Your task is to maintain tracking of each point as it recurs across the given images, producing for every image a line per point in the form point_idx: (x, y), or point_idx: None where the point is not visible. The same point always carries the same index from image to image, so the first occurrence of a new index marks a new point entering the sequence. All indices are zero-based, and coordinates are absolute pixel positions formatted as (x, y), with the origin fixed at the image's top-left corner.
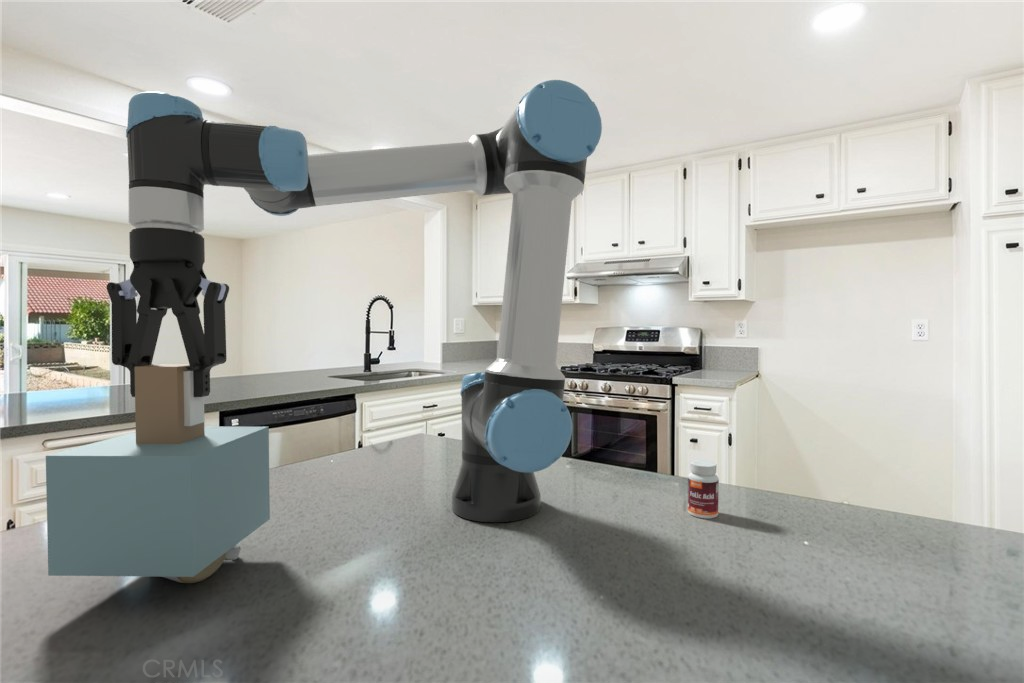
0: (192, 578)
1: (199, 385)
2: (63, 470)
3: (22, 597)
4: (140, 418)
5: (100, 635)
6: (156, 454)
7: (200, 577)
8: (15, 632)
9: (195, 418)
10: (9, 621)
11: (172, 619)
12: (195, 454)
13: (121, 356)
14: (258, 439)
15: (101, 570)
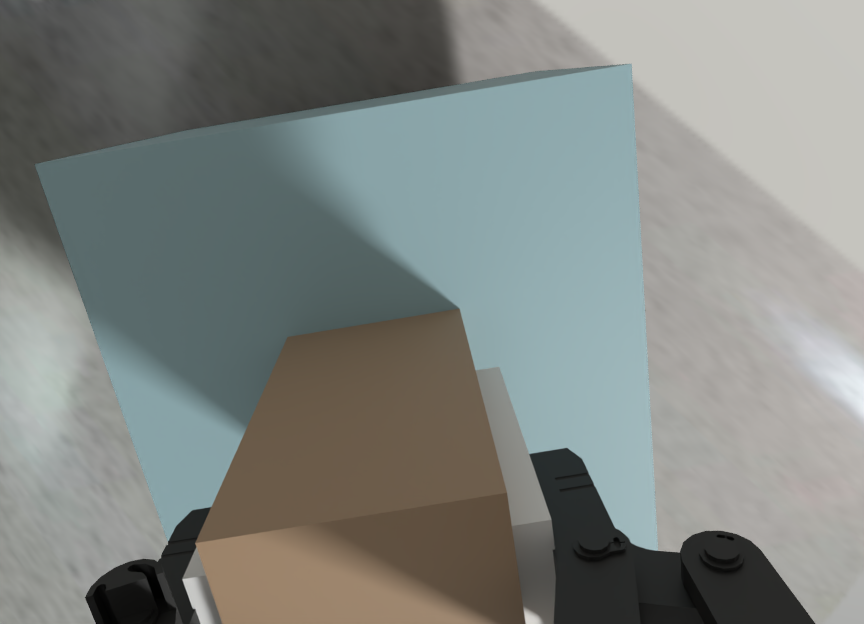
0: None
1: (181, 549)
2: (545, 76)
3: (655, 130)
4: (444, 350)
5: (344, 30)
6: (202, 164)
7: None
8: (529, 8)
9: None
10: (584, 42)
11: (252, 110)
12: (48, 193)
13: (697, 583)
14: None
15: (406, 93)
